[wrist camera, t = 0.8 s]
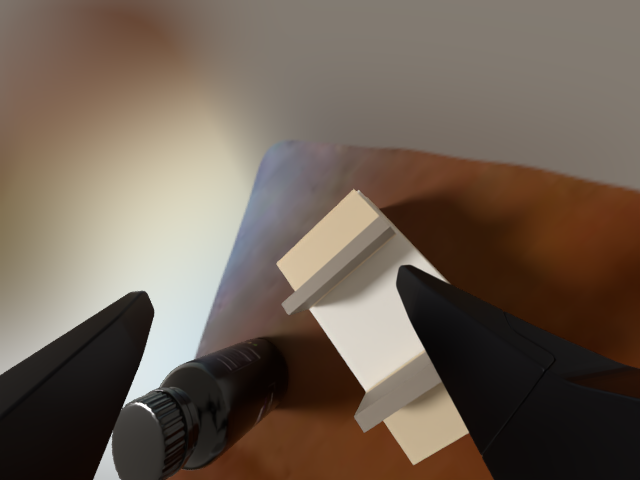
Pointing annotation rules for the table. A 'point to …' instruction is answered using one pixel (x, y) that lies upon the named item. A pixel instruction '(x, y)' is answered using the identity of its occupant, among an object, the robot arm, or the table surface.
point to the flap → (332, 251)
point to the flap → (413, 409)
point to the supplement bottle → (199, 411)
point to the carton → (374, 311)
